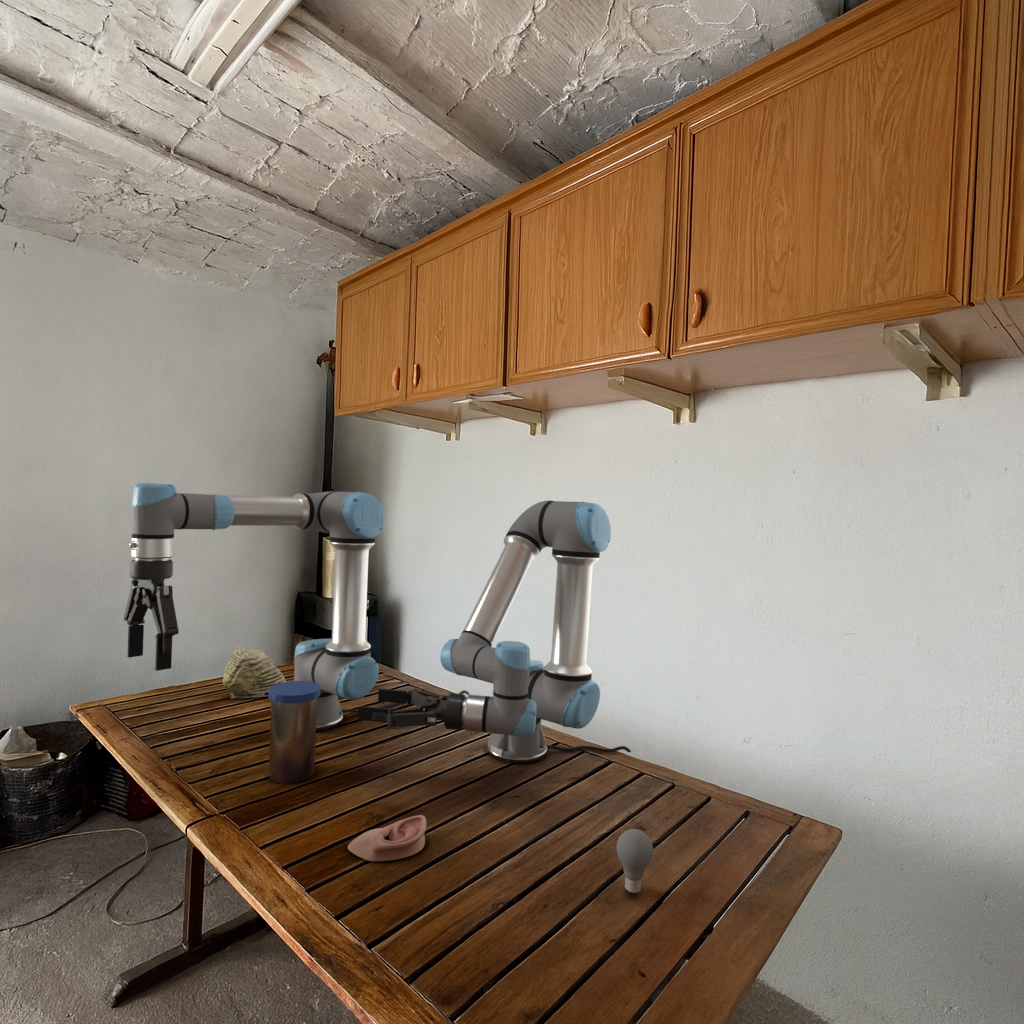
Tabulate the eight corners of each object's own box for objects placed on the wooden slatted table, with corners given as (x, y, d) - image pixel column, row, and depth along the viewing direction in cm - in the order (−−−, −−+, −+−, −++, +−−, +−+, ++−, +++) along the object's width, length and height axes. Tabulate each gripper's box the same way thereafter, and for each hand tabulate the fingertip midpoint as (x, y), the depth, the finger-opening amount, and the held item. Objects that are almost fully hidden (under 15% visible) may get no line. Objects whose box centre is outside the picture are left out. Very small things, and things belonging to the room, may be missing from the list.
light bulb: (610, 879, 108) (613, 822, 108) (644, 879, 109) (647, 822, 109) (619, 902, 102) (622, 840, 102) (655, 901, 103) (658, 840, 103)
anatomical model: (340, 834, 112) (368, 804, 123) (339, 856, 112) (367, 824, 123) (411, 845, 109) (433, 813, 120) (410, 868, 109) (432, 834, 120)
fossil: (218, 695, 195) (220, 647, 195) (278, 685, 208) (279, 640, 207) (228, 703, 189) (230, 653, 188) (289, 692, 201) (290, 645, 201)
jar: (260, 773, 143) (263, 689, 143) (298, 760, 151) (301, 680, 151) (283, 787, 137) (287, 699, 137) (323, 773, 145) (326, 690, 144)
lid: (258, 695, 143) (258, 687, 143) (302, 685, 152) (302, 677, 152) (285, 707, 136) (285, 698, 136) (330, 695, 145) (330, 688, 145)
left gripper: (108, 554, 134) (104, 654, 134) (159, 565, 118) (155, 678, 119) (146, 552, 140) (143, 648, 140) (199, 563, 124) (195, 671, 124)
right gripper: (452, 750, 124) (348, 740, 126) (472, 712, 149) (385, 704, 151) (455, 712, 124) (350, 702, 126) (474, 680, 149) (387, 672, 151)
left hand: (148, 662), depth 129 cm, fingers open, 13 cm apart
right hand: (369, 703), depth 139 cm, fingers open, 13 cm apart
